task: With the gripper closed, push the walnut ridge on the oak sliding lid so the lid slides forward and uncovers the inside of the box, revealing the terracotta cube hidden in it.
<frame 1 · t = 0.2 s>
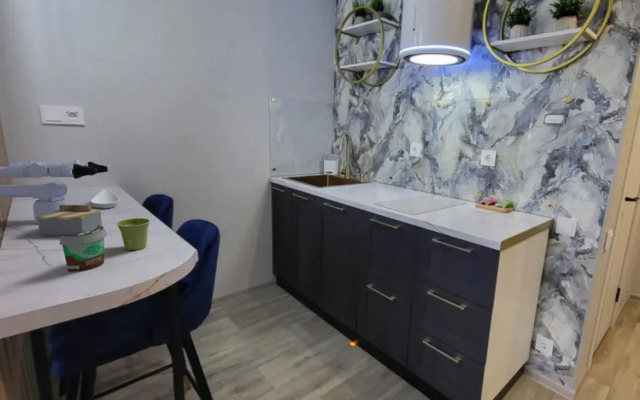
hand: (102, 170, 131), 21 cm above the table, fingers open, 7 cm apart
spoon rest: (106, 205, 164), on the table
plant pot: (135, 248, 108), on the table
food container: (92, 266, 93), on the table
lid: (70, 211, 120), point 8 cm above the table, slide at 0.0 cm
box: (72, 231, 122), on the table
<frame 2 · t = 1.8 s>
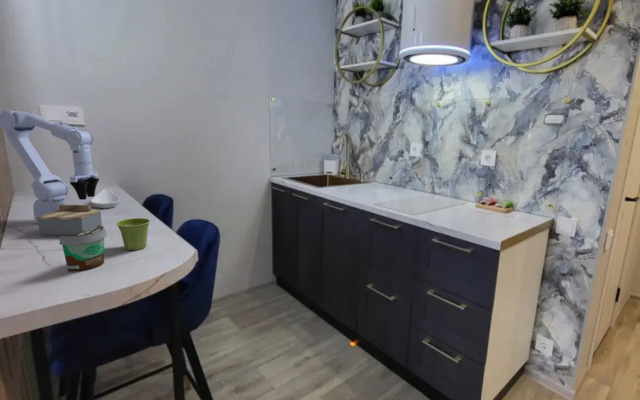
hand: (87, 198, 130), 10 cm above the table, fingers open, 5 cm apart
nothing on the table moved.
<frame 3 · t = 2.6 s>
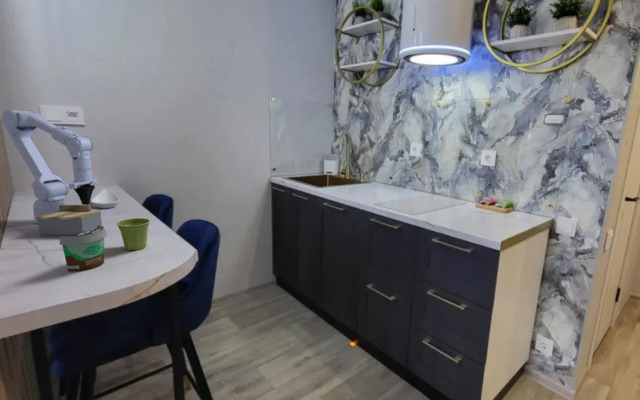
hand: (86, 204, 130), 8 cm above the table, fingers closed
nothing on the table moved.
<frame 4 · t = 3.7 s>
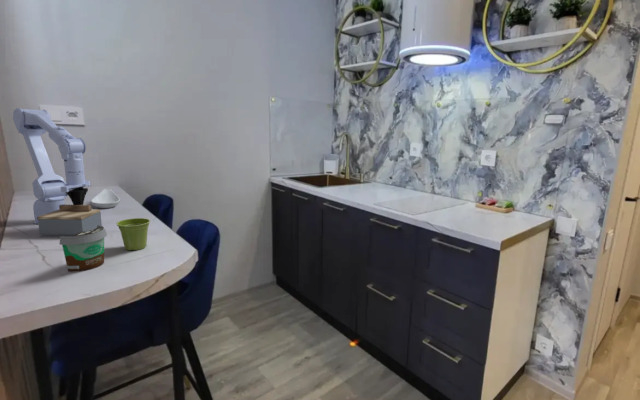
hand: (78, 207, 125), 8 cm above the table, fingers closed
lid: (70, 211, 120), point 8 cm above the table, slide at 0.0 cm, touching gripper
everything else where it was.
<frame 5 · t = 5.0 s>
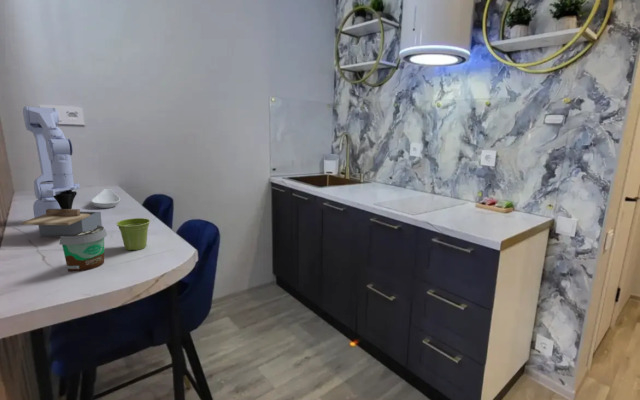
hand: (66, 212, 118), 8 cm above the table, fingers closed
lid: (57, 215, 114), point 8 cm above the table, slide at 6.9 cm, touching gripper
everything else where it was.
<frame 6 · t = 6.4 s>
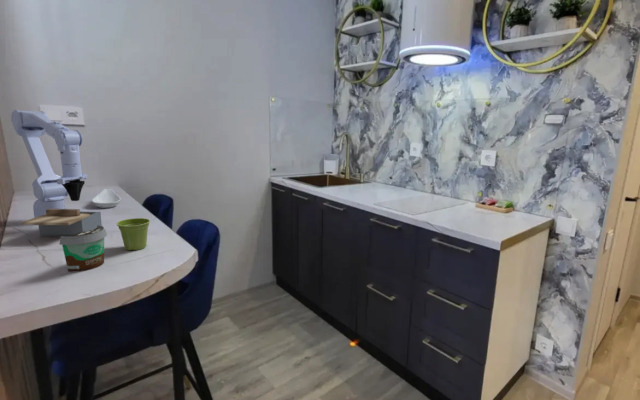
hand: (75, 200, 125), 10 cm above the table, fingers closed
lid: (57, 215, 114), point 8 cm above the table, slide at 6.9 cm
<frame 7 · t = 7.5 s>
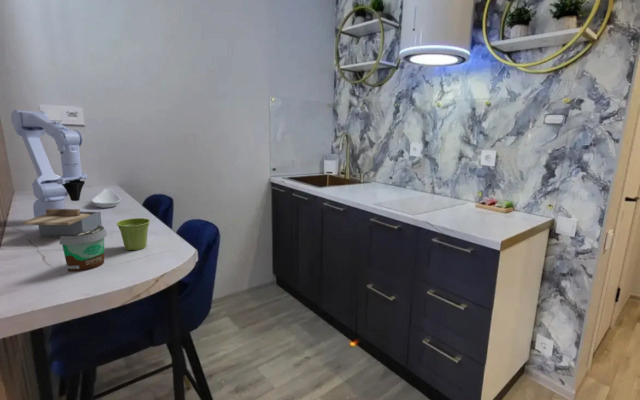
hand: (75, 200, 125), 10 cm above the table, fingers closed
at the end: lid slide at 6.9 cm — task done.
